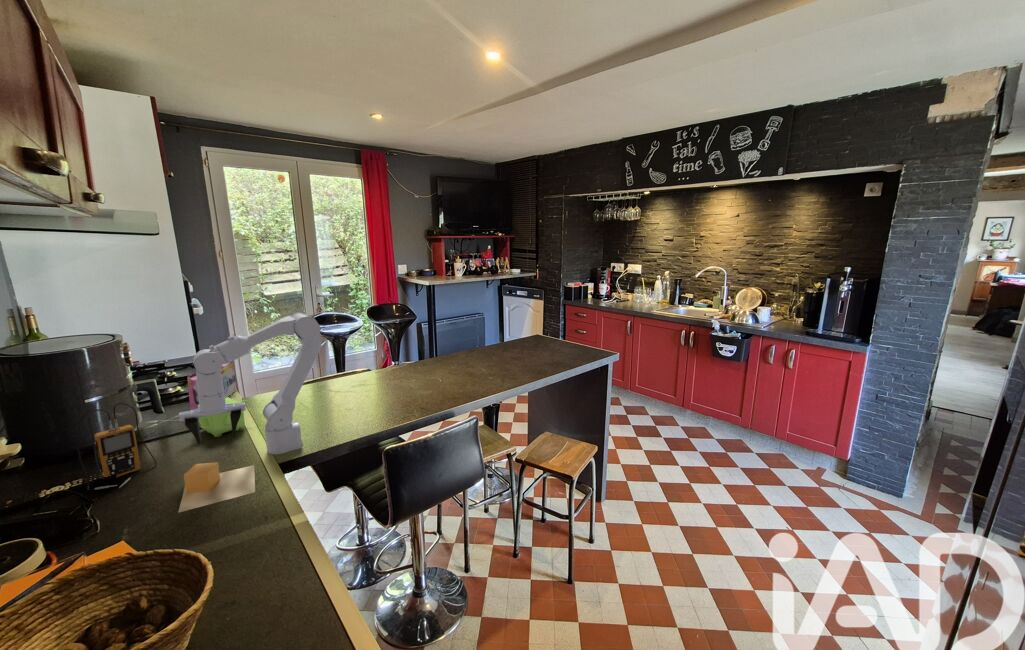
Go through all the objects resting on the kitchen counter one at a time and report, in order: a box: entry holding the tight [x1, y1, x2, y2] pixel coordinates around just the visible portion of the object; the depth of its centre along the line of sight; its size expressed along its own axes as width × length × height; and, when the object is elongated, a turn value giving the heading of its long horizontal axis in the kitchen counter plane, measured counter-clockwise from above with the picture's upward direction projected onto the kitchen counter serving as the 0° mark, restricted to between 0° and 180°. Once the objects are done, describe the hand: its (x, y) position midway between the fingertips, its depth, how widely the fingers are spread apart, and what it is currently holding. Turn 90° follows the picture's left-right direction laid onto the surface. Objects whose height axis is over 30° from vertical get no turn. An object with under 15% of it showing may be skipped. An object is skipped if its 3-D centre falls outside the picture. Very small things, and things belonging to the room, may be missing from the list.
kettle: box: [198, 396, 248, 438], centre depth 134 cm, size 15×14×11 cm
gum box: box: [187, 360, 238, 410], centre depth 160 cm, size 24×8×14 cm, turn 14°
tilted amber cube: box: [183, 461, 221, 493], centre depth 101 cm, size 5×5×5 cm
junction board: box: [177, 464, 256, 514], centre depth 101 cm, size 15×15×6 cm
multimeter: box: [76, 402, 158, 491], centre depth 105 cm, size 15×10×20 cm
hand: (217, 439), depth 110 cm, fingers open, 7 cm apart
